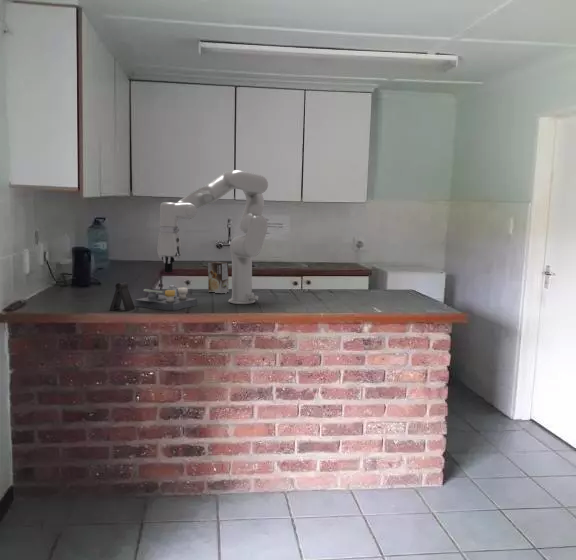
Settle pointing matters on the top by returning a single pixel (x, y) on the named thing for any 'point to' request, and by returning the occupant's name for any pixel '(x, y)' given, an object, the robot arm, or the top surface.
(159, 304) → the console
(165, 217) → the robot arm
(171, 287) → the slider knob
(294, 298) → the top surface
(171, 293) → the amber button
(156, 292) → the rocker paddle
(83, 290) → the top surface
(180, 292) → the ivory button
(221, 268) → the coffee box
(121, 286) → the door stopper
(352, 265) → the top surface
